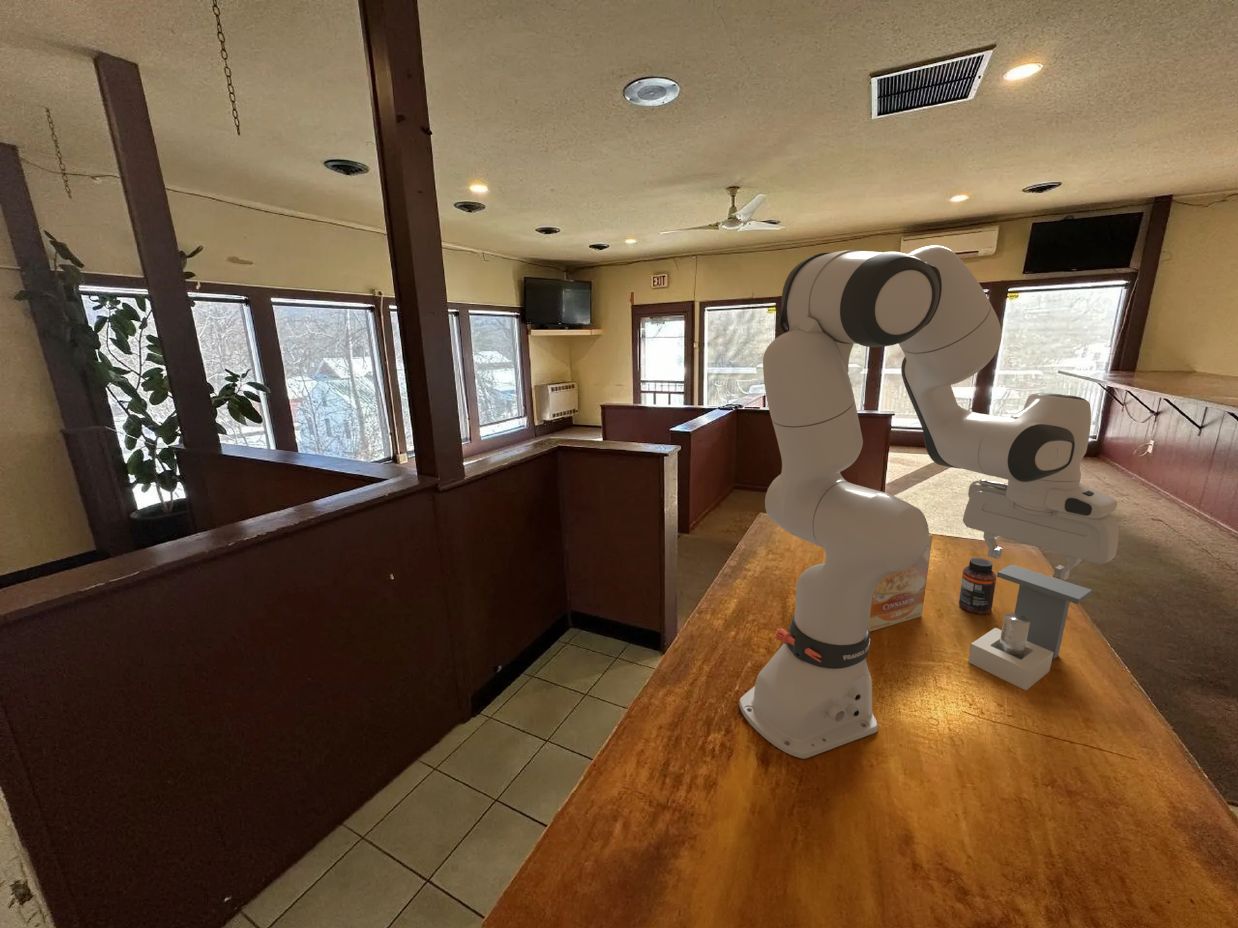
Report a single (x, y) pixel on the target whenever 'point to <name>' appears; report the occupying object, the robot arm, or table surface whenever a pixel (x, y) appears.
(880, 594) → the coffeecake box
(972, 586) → the supplement bottle
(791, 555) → the table surface
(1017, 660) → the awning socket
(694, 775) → the table surface
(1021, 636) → the peg
